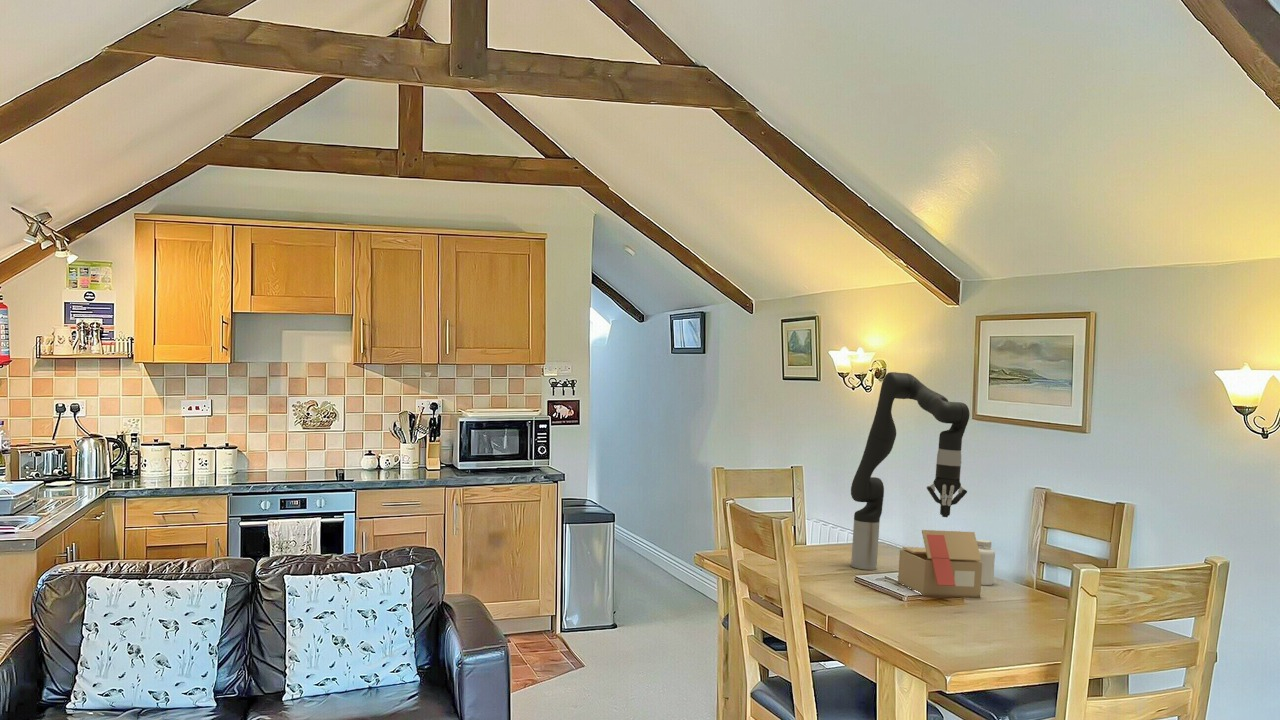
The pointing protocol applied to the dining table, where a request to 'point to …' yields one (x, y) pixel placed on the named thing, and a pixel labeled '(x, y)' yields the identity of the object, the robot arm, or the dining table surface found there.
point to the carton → (922, 578)
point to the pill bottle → (986, 561)
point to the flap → (949, 551)
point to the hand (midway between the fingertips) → (944, 516)
